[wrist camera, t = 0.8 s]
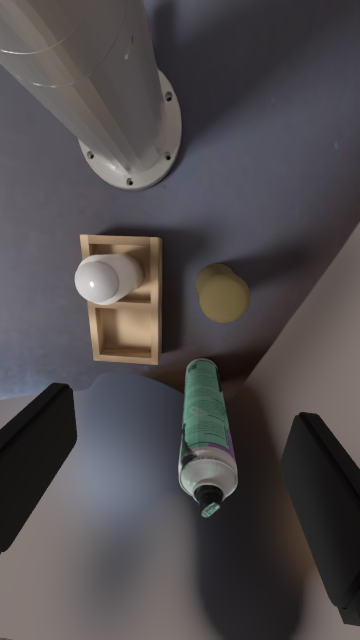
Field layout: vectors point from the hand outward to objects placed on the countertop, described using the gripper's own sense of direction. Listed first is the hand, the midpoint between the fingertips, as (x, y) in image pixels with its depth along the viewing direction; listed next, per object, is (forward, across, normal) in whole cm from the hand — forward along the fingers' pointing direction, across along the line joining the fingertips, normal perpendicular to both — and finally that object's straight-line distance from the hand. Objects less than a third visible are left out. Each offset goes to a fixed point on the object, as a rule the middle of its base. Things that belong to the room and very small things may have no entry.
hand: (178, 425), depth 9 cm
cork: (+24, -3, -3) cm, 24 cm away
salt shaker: (+23, +10, -4) cm, 25 cm away
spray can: (+24, -3, +12) cm, 27 cm away
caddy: (+24, +10, +1) cm, 26 cm away
